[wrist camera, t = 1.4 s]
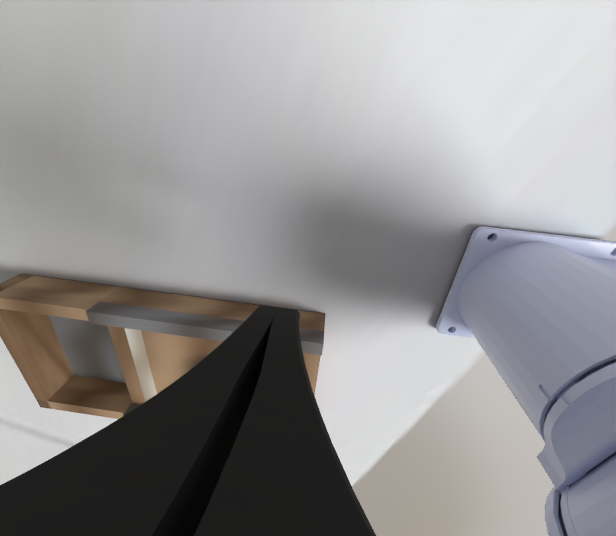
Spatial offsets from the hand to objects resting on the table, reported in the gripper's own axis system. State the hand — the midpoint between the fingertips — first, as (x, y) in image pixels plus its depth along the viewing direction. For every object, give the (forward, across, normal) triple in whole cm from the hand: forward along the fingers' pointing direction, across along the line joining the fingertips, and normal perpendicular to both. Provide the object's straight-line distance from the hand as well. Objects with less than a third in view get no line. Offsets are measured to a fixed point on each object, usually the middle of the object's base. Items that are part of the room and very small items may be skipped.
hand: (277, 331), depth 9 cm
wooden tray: (+9, +10, +12) cm, 18 cm away
